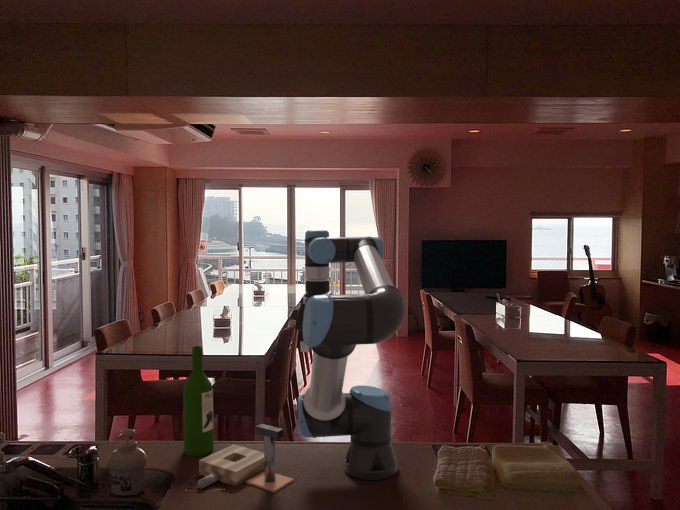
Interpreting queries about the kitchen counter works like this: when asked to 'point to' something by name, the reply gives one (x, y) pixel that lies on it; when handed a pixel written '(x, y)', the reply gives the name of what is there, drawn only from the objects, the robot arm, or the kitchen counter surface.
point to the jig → (231, 466)
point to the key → (269, 449)
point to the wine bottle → (198, 409)
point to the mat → (271, 486)
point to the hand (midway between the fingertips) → (317, 347)
